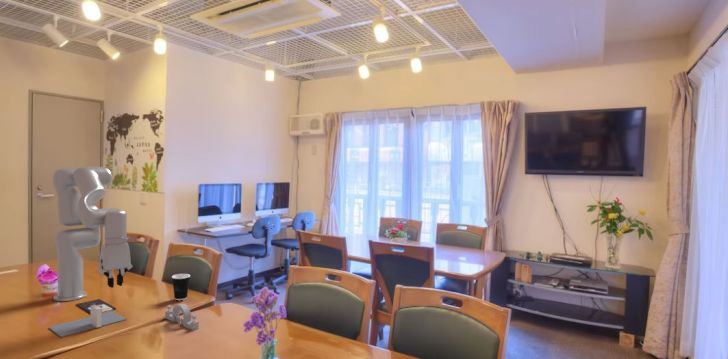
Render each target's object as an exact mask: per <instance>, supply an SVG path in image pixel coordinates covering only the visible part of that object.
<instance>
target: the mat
mask: <svg viewBox="0 0 728 359" xmlns="http://www.w3.org/2000/svg"><path fill="white" fill-rule="evenodd" d="M123 321H124V322H125V321H128V320H127V318H126V317H124V316H122V315H121V314H118V313H117V312H115V311H114V310H111V311H107V312H103V313H102V326H101V327H100V328H102V327H106V326H109V325H112V324H116V323H120V322H123ZM98 328H99V327H95V326H93V325H92V324H90V316H88V317H84V318H80V319H77V320H72V321H68V322H63V323H60V324H55V325H53V326H49V327H48V329H50V330H51V332H53V333H55V334H56V335H58V337H60V338H63V337H68V336H72V335H75V334H80V333H83V332H86V331H90V330H94V329H98Z"/></svg>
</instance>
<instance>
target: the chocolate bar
mask: <svg viewBox="0 0 728 359" xmlns="http://www.w3.org/2000/svg"><path fill="white" fill-rule="evenodd" d="M75 305H76V306H77V307H78V308H79V309H81V310H83V311H85V312H87V313H88V314H89V315H90V314H91V306H92V305H97V306H98V307H100V308H102V314H104V313H108V312H112V311H116V310H117V308H116V307H115V306H113V305H111V304H109V303H107V302H106V301H105V300H102V299H100V298H97V299H93V300H89V301H83V302H79V303H76V304H75Z"/></svg>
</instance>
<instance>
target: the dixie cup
mask: <svg viewBox="0 0 728 359" xmlns="http://www.w3.org/2000/svg"><path fill="white" fill-rule="evenodd" d="M171 278H172V285H173V298H174V299H175V301H176V300H183V301H186V300H187V297H188V294H189V293H188V292H189V286H190V278H191V274H189V273H177V274H173V275H172V276H171ZM185 299H186V300H185Z"/></svg>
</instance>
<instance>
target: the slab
mask: <svg viewBox="0 0 728 359" xmlns="http://www.w3.org/2000/svg"><path fill="white" fill-rule="evenodd" d="M102 314H103V313H102V308H100V307H98V306H97V305H92V306H91V314H90V313H89V315H90V316H89V317H90V324H92V325H93V326H95V327H98V328H102V327H103V326H102ZM101 326H102V327H101Z"/></svg>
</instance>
